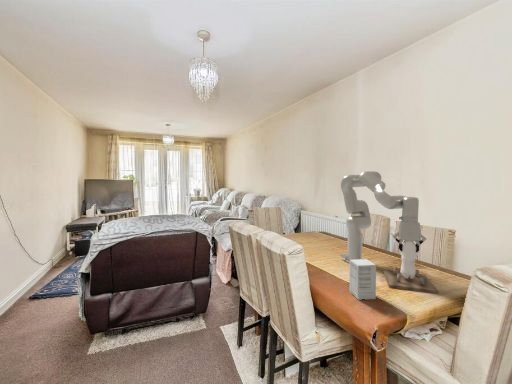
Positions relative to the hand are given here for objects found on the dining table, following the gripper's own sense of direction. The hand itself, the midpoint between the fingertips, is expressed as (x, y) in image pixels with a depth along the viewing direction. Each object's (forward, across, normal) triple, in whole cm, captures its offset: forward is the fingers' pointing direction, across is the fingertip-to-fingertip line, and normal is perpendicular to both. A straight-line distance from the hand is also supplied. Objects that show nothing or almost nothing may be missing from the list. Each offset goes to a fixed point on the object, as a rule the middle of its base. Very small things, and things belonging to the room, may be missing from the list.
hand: (408, 251), depth 139 cm
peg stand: (+18, 0, 0) cm, 18 cm away
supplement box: (+18, -25, -25) cm, 40 cm away
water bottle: (+15, 0, 0) cm, 15 cm away
